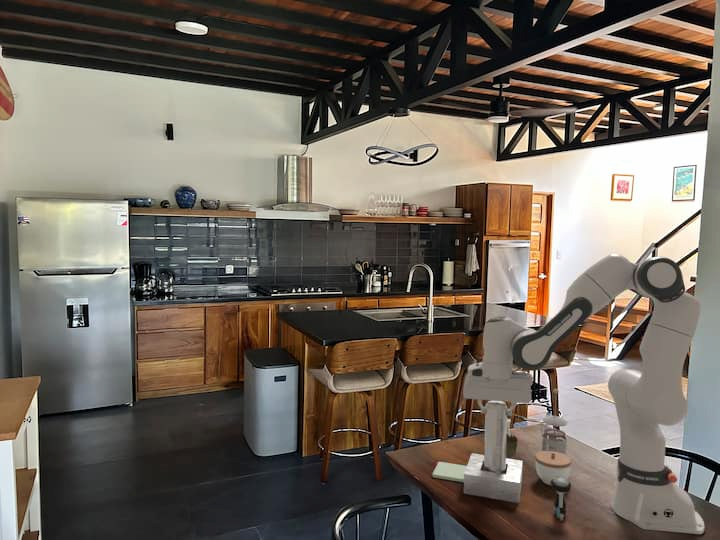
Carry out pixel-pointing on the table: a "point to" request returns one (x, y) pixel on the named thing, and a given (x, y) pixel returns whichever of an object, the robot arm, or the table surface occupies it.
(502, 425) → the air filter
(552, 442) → the french press
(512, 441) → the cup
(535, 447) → the table surface
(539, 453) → the lidded jar
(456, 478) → the pad
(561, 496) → the push button
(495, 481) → the bore block
